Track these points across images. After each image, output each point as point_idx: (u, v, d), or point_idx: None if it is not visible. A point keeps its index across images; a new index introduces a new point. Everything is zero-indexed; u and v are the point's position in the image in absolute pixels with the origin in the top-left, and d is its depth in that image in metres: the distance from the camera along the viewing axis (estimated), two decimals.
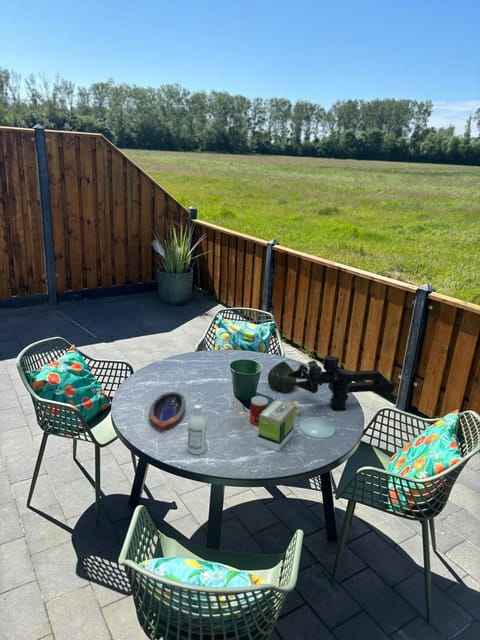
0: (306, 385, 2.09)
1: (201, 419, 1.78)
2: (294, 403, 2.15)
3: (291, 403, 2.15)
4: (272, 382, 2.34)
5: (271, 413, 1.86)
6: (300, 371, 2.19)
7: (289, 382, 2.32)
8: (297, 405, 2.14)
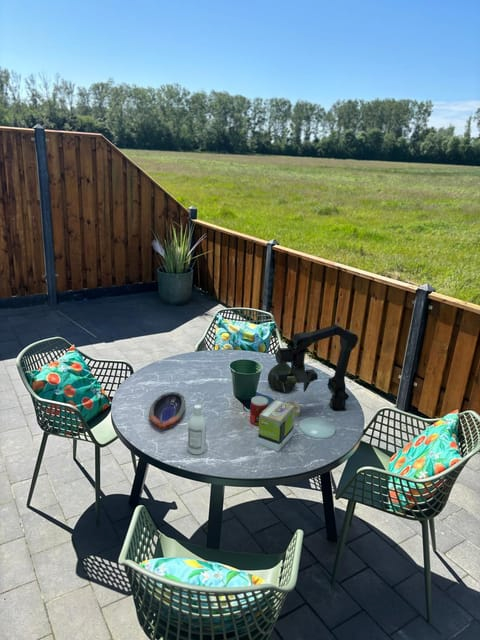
0: None
1: (201, 419, 1.78)
2: (294, 403, 2.15)
3: (291, 403, 2.15)
4: (272, 382, 2.34)
5: (271, 413, 1.86)
6: None
7: (289, 382, 2.32)
8: (297, 405, 2.14)
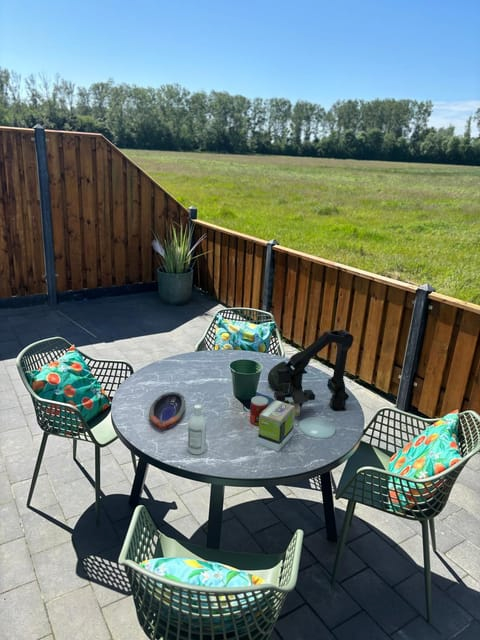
0: None
1: (201, 419, 1.78)
2: None
3: (291, 403, 2.15)
4: (272, 382, 2.34)
5: (271, 413, 1.86)
6: None
7: None
8: (297, 405, 2.13)
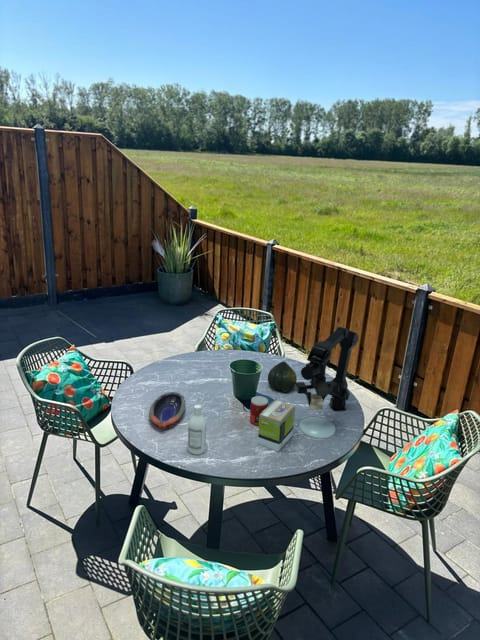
0: None
1: (201, 419, 1.78)
2: (316, 395, 2.02)
3: (313, 395, 2.02)
4: (272, 382, 2.34)
5: (271, 413, 1.86)
6: None
7: (289, 382, 2.32)
8: (320, 397, 2.01)
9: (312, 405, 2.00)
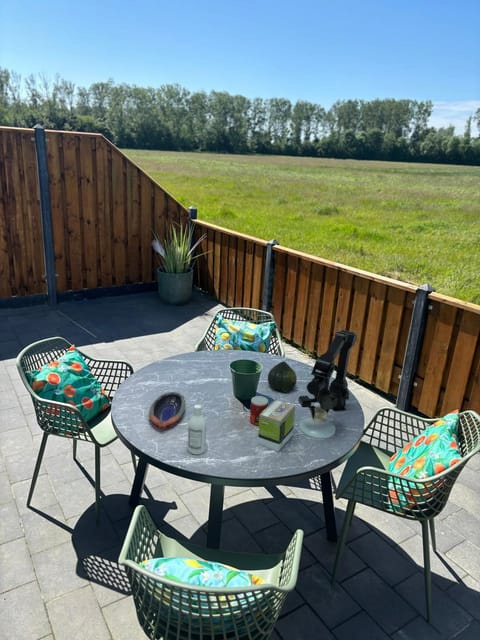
0: None
1: (201, 419, 1.78)
2: (320, 408, 2.02)
3: (317, 408, 2.02)
4: (272, 382, 2.34)
5: (271, 413, 1.86)
6: None
7: (289, 382, 2.32)
8: (323, 410, 2.01)
9: (316, 418, 1.99)
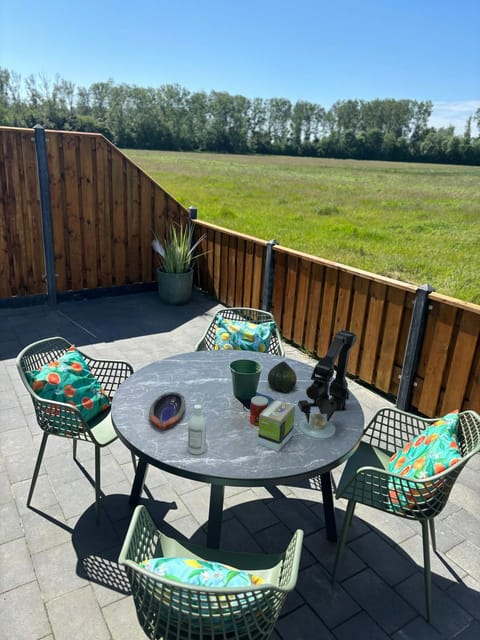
0: None
1: (201, 419, 1.78)
2: (319, 415, 2.03)
3: (316, 415, 2.03)
4: (272, 382, 2.34)
5: (271, 413, 1.86)
6: None
7: (289, 382, 2.32)
8: (322, 417, 2.02)
9: (315, 425, 2.01)
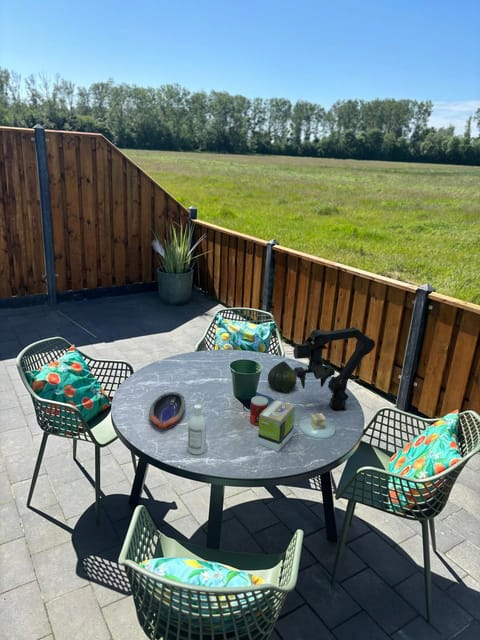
0: None
1: (201, 419, 1.78)
2: (319, 415, 2.03)
3: (316, 415, 2.03)
4: (272, 382, 2.34)
5: (271, 413, 1.86)
6: None
7: (289, 382, 2.32)
8: (322, 417, 2.02)
9: (315, 425, 2.01)
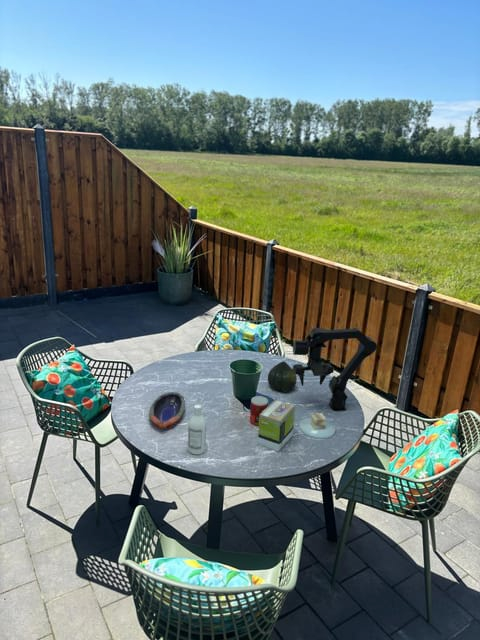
0: None
1: (201, 419, 1.78)
2: (319, 415, 2.03)
3: (316, 415, 2.03)
4: (272, 382, 2.34)
5: (271, 413, 1.86)
6: None
7: (289, 382, 2.32)
8: (322, 417, 2.02)
9: (315, 425, 2.01)
